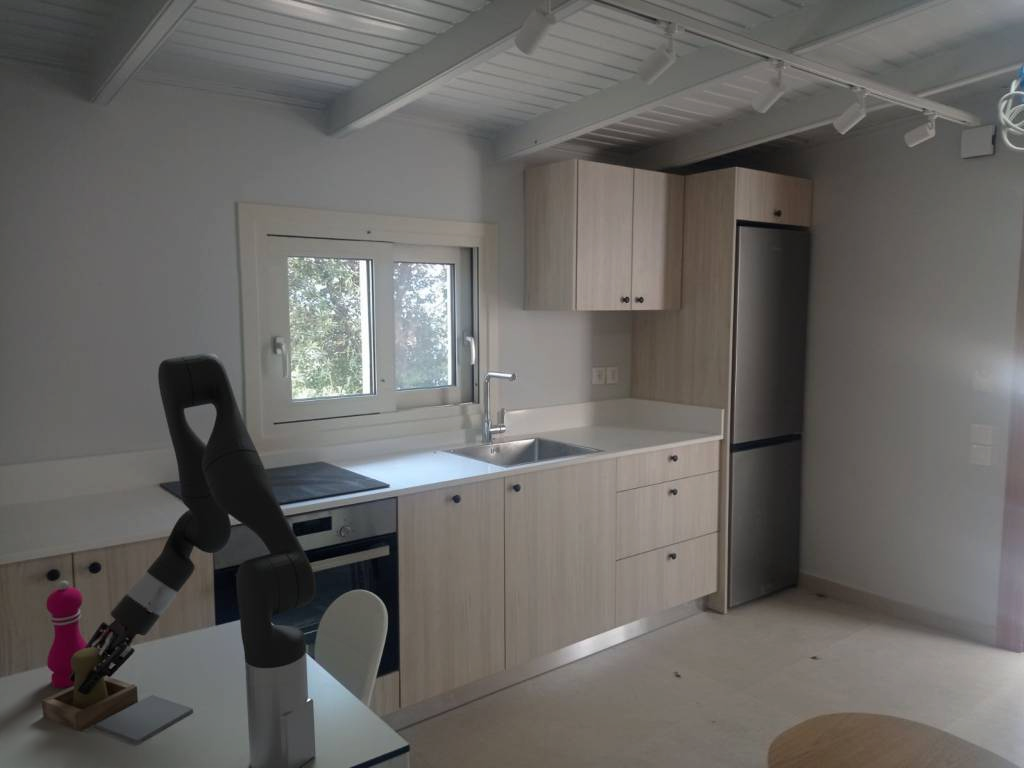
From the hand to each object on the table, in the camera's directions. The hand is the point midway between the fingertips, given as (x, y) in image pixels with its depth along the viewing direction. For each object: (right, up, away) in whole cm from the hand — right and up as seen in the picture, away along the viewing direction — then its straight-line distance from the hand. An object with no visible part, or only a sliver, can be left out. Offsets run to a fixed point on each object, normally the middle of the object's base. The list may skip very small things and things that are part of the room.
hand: (77, 686), depth 134 cm
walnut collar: (+1, -5, +2) cm, 5 cm away
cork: (+1, -5, +2) cm, 6 cm away
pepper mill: (-9, -4, +13) cm, 16 cm away
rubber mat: (+13, -5, -2) cm, 14 cm away
